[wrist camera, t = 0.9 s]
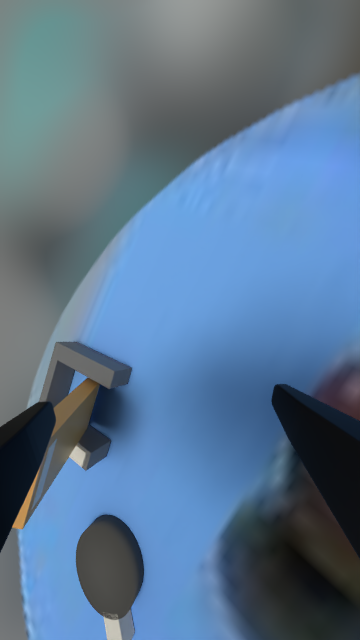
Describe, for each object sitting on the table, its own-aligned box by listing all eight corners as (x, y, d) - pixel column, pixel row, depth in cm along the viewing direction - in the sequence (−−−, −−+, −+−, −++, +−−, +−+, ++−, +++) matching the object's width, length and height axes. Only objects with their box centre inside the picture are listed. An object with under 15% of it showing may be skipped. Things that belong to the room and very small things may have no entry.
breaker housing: (132, 368, 24) (113, 371, 21) (106, 456, 24) (84, 471, 21) (76, 341, 28) (54, 341, 25) (55, 417, 28) (30, 425, 25)
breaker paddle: (101, 381, 24) (48, 442, 13) (87, 428, 24) (23, 529, 13) (87, 377, 24) (20, 436, 13) (73, 425, 24) (-5, 524, 13)
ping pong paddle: (158, 637, 19) (150, 661, 18) (99, 624, 22) (87, 644, 21) (132, 513, 22) (123, 525, 20) (82, 515, 25) (70, 526, 23)
